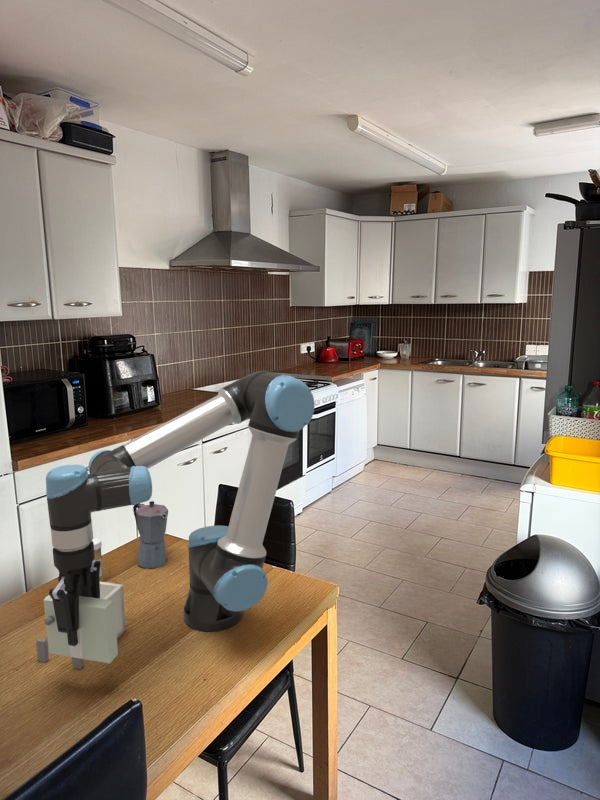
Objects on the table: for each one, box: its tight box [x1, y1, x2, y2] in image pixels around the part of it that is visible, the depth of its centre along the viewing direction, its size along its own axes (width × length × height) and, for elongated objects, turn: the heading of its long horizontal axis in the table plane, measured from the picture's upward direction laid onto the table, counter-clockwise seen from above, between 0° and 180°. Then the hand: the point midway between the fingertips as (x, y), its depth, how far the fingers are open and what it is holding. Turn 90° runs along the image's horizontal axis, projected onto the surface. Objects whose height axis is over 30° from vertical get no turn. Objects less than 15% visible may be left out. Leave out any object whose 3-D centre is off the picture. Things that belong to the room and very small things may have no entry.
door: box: [43, 594, 119, 664], centre depth 112 cm, size 14×4×12 cm, turn 76°
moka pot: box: [132, 500, 169, 569], centre depth 169 cm, size 10×15×20 cm, turn 58°
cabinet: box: [35, 581, 127, 670], centre depth 129 cm, size 14×15×12 cm
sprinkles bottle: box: [92, 537, 104, 582], centre depth 156 cm, size 5×5×13 cm
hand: (83, 650), depth 114 cm, fingers closed on door, 3 cm apart
